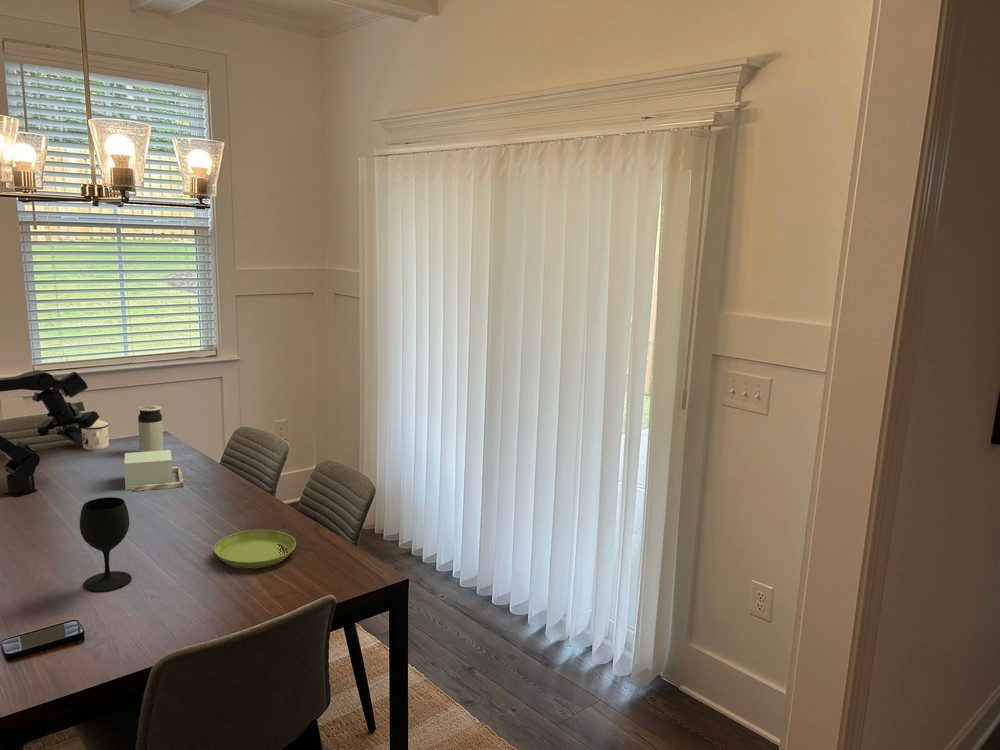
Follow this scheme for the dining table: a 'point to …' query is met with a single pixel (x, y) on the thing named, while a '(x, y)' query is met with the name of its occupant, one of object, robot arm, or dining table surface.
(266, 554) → the saucer
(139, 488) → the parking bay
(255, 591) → the dining table surface
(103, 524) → the wine glass
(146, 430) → the travel mug
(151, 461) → the sage box
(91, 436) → the teacup with lid
